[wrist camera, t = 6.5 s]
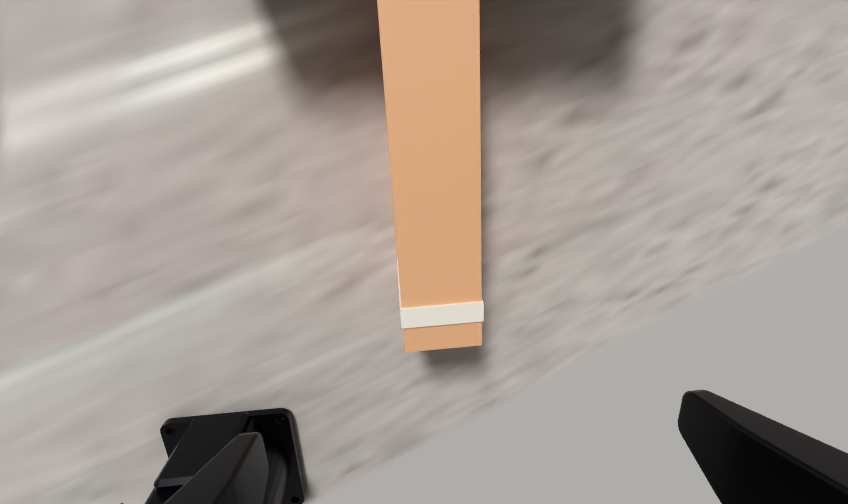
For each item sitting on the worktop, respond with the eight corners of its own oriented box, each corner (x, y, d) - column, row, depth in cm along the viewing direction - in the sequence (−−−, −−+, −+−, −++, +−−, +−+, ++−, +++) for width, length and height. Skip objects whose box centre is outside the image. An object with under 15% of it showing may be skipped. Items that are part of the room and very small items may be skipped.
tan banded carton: (461, 291, 21) (484, 346, 16) (399, 296, 21) (403, 354, 16) (453, -37, 16) (481, -95, 12) (373, -34, 16) (367, -92, 11)
